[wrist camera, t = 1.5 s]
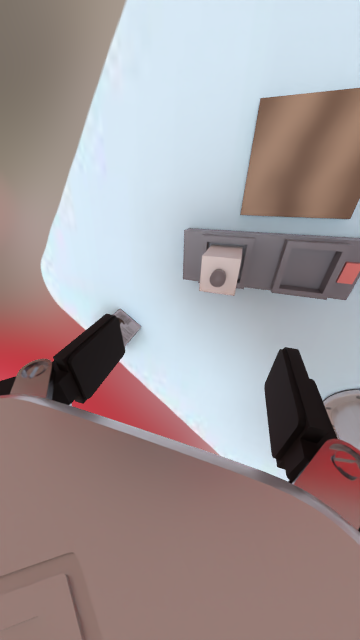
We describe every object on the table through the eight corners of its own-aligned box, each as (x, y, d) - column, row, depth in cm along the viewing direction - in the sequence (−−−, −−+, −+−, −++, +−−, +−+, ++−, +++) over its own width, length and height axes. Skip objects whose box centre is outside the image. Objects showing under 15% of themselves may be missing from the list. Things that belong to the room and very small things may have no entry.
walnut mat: (404, 88, 16) (413, 82, 15) (346, 218, 21) (350, 218, 21) (260, 102, 19) (260, 98, 18) (240, 214, 24) (240, 214, 23)
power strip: (366, 238, 22) (387, 244, 19) (338, 292, 26) (351, 305, 22) (189, 228, 27) (181, 231, 24) (187, 274, 31) (180, 282, 28)
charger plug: (242, 246, 24) (241, 262, 17) (236, 275, 26) (233, 300, 19) (212, 244, 25) (199, 258, 18) (209, 272, 27) (197, 294, 20)
